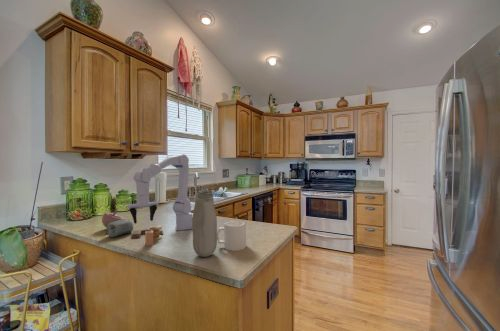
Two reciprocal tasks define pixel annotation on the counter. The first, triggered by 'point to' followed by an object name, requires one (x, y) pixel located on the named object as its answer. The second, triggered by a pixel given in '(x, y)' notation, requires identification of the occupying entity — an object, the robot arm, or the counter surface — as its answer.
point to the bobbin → (156, 232)
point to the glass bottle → (204, 224)
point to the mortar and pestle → (110, 218)
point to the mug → (233, 235)
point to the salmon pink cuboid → (148, 238)
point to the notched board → (143, 232)
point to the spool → (119, 227)
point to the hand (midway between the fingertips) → (143, 221)
